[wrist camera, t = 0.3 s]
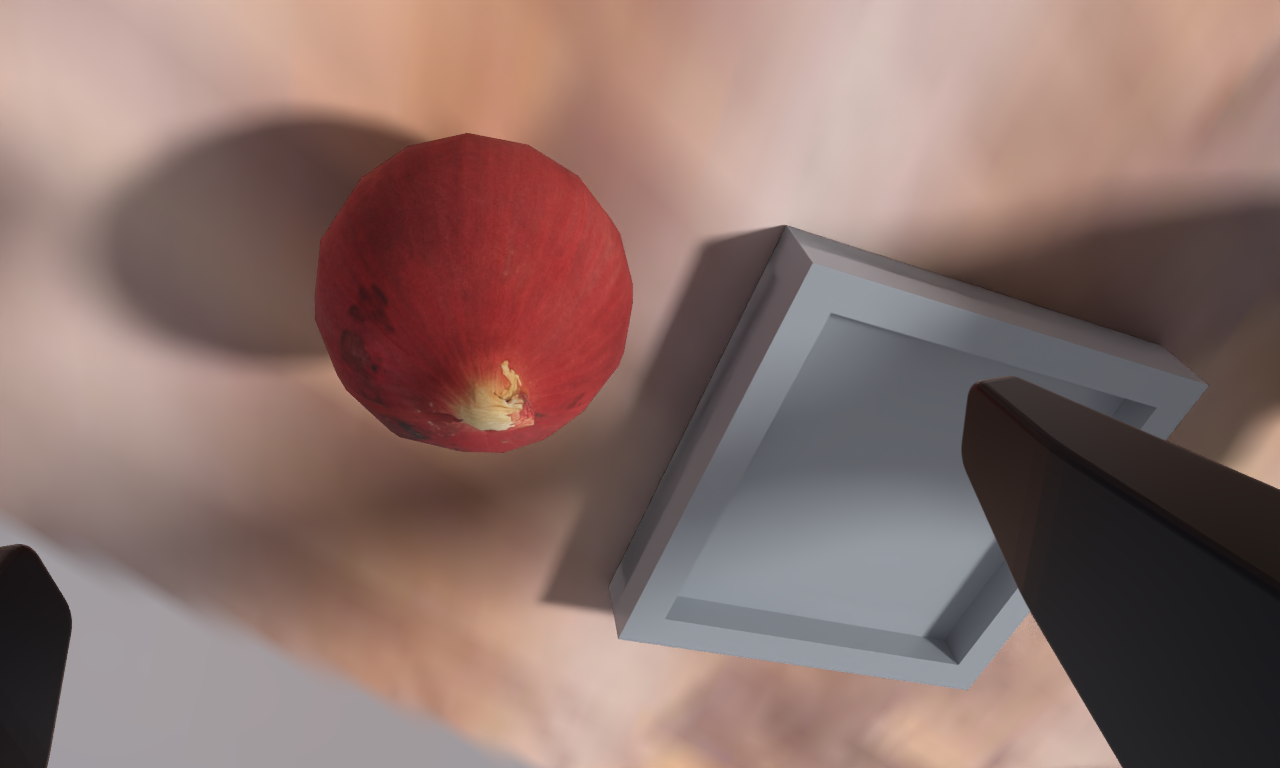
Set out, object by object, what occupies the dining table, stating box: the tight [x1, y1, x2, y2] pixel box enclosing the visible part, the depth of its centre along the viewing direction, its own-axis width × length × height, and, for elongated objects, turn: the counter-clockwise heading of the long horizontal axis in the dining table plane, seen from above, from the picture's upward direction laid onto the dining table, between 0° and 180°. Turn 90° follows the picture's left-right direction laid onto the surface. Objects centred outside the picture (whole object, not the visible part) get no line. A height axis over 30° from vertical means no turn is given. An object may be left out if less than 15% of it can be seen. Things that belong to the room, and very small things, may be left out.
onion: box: [315, 133, 633, 453], centre depth 18 cm, size 6×6×8 cm
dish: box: [609, 225, 1209, 690], centre depth 27 cm, size 12×12×2 cm
